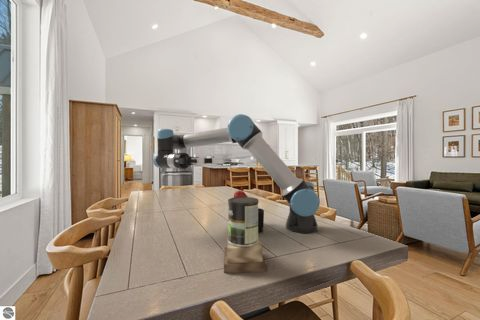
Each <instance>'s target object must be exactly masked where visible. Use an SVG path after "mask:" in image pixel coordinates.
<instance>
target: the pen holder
mask: <svg viewBox="0 0 480 320" xmlns="http://www.w3.org/2000/svg"><path fill="white" fill-rule="evenodd" d="M264 216H265V210H264V209H263V208H260V207H258V234H261V233H262V232H264V220H265V217H264Z"/></svg>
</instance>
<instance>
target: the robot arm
mask: <svg viewBox="0 0 480 320" xmlns="http://www.w3.org/2000/svg"><path fill="white" fill-rule="evenodd" d="M230 142H231V143H232V144H238V145H239V146H240V147H241V148H242V150H246V151H248V152H249V153H250V154H251V155H252V157H253V158H254V159H255V160H256V162H258V164H259V165H260V166H261V167H262V168H263V169H264V171H265V172H266V173H267V174H268V175H269V176H270V178H271V180H273V181H274V182H275V183H276V185H277V186H278V187H279V189H281V191H282V193H281V194H282V197H283V198H284V199H285V201H286V202H287V203H288V204H289V212H288V216H287V219H286V223H285V228H286V229H287V230H288V231H291V232H294V233H301V234H312V233H315V232H317V231H318V223H317V219H316V217H315V213H317V211H318V210H319V207H320V197H319V195H318V194H317V192H315V191H314V190H315V185H314V183H313V182H307V181H305V179H304V178H299V177H297V176H296V175H295V173H294V172H293V171H292V170H291V169H290V168H289V166H288V165H287V164H286V163H285V162H284V161H283V160H282V159H281V158H280V156H279V155H278V154H277V152H276V151H274V149H273V148H272V147H271V146H270V145H269V144H268V143H267V141H266V140H265V139H264V138H263V132H262V130H261V129H260V128H259V127H258V125H256V124H255V122H254V121H253V119H252V118H251V117H250V116H248V115H247V114H241V113H239V114H235V115H233V117H231V118H230V120H229V121H228V124H227V127H223V128H217V129H211V130H204V131H199V132H194V133H193V132H192V133H185V134H180V135H178V134H177V135H176V134H174V130H173V129H170V128H160V129H158V130H157V153H156V154H154V156H153V159H152V163H153V165H154V167H156V168H160V169H173V170H175V171H176V170H177V169H180V170H184V169H188V168H189V167H190V166H193V165H205V164H213V165H216V164H218V165H221V164H222V165H223V164H225V157H214V156H212V157H199V156H190V155H189V154H188V153H186V152H174V150H177V151H181V150H185V149H190V148H197V147H203V146H208V145H209V146H210V145H216V144H217V145H218V144H223V143H225V144H226V143H230Z"/></svg>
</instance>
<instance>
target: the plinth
mask: <svg viewBox="0 0 480 320" xmlns="http://www.w3.org/2000/svg"><path fill="white" fill-rule="evenodd" d="M226 237H227V239H226V244H227V246H225V247H224V250H223V251H224V253H223V254H224V256H223V273H225V274H227V273H228V274H229V273H256V272H257V273H258V272H259V273H261V272H267V261H266V259H265V256H264V254H263V246H262V243H261V241H260V238H259V237H258V243H257V244H256V245H254V246H250V247H237V246H233V245H231V244H229V242H228V235H227V236H226Z"/></svg>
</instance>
